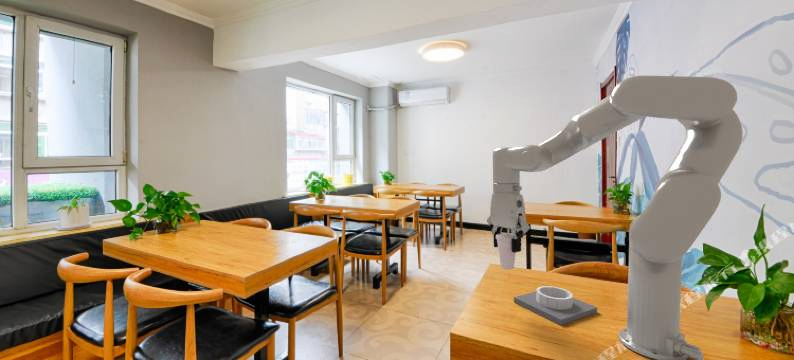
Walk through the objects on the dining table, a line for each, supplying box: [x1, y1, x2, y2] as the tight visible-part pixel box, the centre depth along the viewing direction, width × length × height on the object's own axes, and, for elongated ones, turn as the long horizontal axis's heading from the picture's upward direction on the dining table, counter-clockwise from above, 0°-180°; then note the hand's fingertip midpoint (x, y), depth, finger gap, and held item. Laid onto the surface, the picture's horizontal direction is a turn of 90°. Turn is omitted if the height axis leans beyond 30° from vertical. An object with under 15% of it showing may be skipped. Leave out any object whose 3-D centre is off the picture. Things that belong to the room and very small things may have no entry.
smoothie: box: [496, 228, 517, 271], centre depth 93 cm, size 6×6×14 cm
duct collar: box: [513, 285, 598, 326], centre depth 93 cm, size 16×16×4 cm
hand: (507, 248), depth 93 cm, fingers closed on smoothie, 6 cm apart
